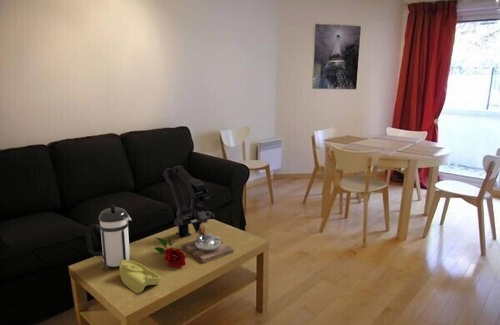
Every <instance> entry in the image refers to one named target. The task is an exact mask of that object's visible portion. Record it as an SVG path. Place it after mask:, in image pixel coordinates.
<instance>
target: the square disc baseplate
mask: <svg viewBox="0 0 500 325" xmlns="http://www.w3.org/2000/svg"><path fill="white" fill-rule="evenodd" d="M182 248H183V249H184V250H186V251H187V252H188V253H190V254H191V255H192V256H193V257H195V258H196V259H197V260H199V261H200V262H202V263H203V264H205V263H207V262H210V261H214V260H216V259H219V258H222V257H224V256H227V255H231V254H233V253H234V250H235V249H234V248H233V247H231V246H229V245H228V244H227V243H226V242H223V241H222V240H221V247H220V248H219V249H218V250H216V251H214V252H201V251H198V250H197V249H196V248H195V240H192V241H189V242H186V243H183V244H182Z"/></svg>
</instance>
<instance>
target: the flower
mask: <svg viewBox="0 0 500 325" xmlns="http://www.w3.org/2000/svg"><path fill="white" fill-rule="evenodd" d="M155 238H156V240H158V242H160V244H161V245H162V246H164V248H163V247H160V246H159V247H158V246H157V247H154V250H155V251H157V252H158V253H160V254H164V258H163V259H164V261H165V262H166V263H168V264H169V267H172V268H183V267H184V266H186V264H187V263H186V255H185V253H184V252H183V251H181V250H180V248H173V247H171V246H172V245H173V242H172V240H171V238H170V237H168V240H167V241H166V240H165V239H164V238H161V237H157V236H156V237H155ZM168 245H169V246H170V247H169V248H168V247H166V246H168Z"/></svg>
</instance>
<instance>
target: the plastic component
mask: <svg viewBox="0 0 500 325" xmlns="http://www.w3.org/2000/svg"><path fill="white" fill-rule="evenodd" d="M119 274H120V279H121V281H122V282H123V284H124V285H125V286H126V287H127V288H129V289H130V290H131V291H133V292H134V293H136V294H140V293H143V291H144V289H145V288H146V286H157V285H159V283H160V280H161V277H162V276H160V275H159V274H157V273H155V271H152V270H151V269H150V268H148V267H146V266H145V265H144V264H141V263H140V262H139V261H138V262H137V261H136V260H135V261H134V260H130V259H129V260H121V261H120V266H119Z"/></svg>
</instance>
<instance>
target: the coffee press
mask: <svg viewBox="0 0 500 325" xmlns="http://www.w3.org/2000/svg"><path fill="white" fill-rule="evenodd" d="M98 220H99V223H92V224H90V225H89V226H88V227H87V229H86V231H85V232H86V233H85V238H86V248H87V252H88V253H89V254H90V255H91V256H93V257H102V261H103V266H102V271H107V270H108V268H109V267H111V268H112V267H113V268H114V267H120V261H121V260H130V259H131V257H132V256H131V253H130V252H131V251H130V240H129V239H130V238H129V221H132V218H131V217H130V215H129V213H128V212H127V211H126V210H125V209H124V208H122V207H116V205H115V204H111V205H110V206H109V208H106V209H104V210H102V211H101V212H100V213H99V216H98ZM97 228H99V229H100V238H101V248H102V249H101V250H102V251H94V249H93V247H92V239H91V238H92V237H91V231H92V230H93V229H97Z"/></svg>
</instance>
